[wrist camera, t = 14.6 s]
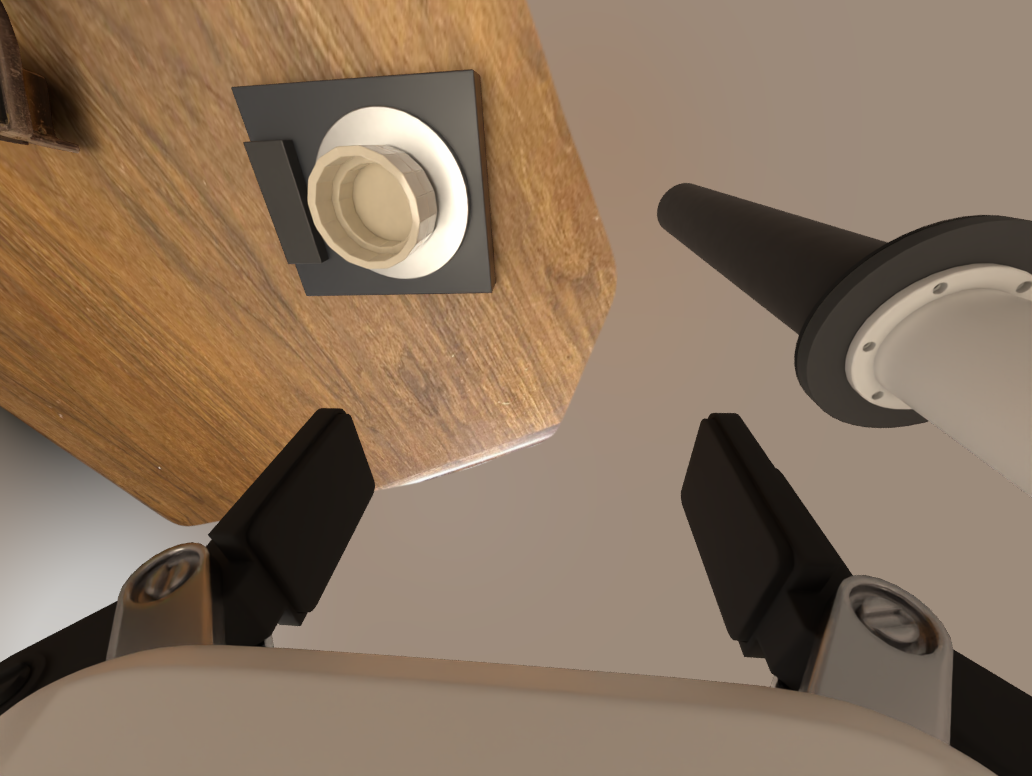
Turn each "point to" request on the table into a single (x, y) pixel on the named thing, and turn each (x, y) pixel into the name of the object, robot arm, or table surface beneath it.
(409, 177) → the bowl
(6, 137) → the mechanical counter
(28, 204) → the table surface
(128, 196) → the table surface
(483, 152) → the scale
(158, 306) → the table surface
